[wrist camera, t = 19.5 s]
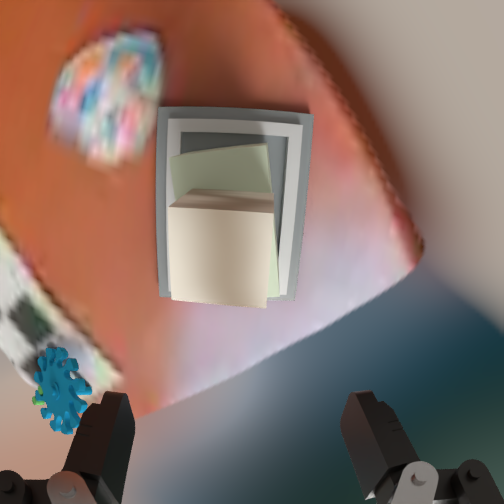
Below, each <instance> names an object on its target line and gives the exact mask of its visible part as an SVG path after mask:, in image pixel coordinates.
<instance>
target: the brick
mask: <svg viewBox="0 0 504 504" xmlns="http://www.w3.org/2000/svg"><path fill="white" fill-rule="evenodd" d="M169 162H170V169H171V176H172V183H173V189H174V196H175V201H177V200H178V199H179V198H180V197H182V196H183V195H184V194H186V193H187V192H189V191H190V190H191V189H193V188H194V189H216V190H234V191H251V192H265V193H272V183H271V172H270V162H269V152H268V143H259V144H249V145H239V146H230V147H222V148H214V149H207V150H199V151H192V152H187V153H183V154H180V155H176V156H172V157H169ZM268 297H280V291H279V263H278V250H277V238H276V227H275V215H274V220H273V233H272V245H271V257H270V269H269V281H268V293H267V298H268Z"/></svg>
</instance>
